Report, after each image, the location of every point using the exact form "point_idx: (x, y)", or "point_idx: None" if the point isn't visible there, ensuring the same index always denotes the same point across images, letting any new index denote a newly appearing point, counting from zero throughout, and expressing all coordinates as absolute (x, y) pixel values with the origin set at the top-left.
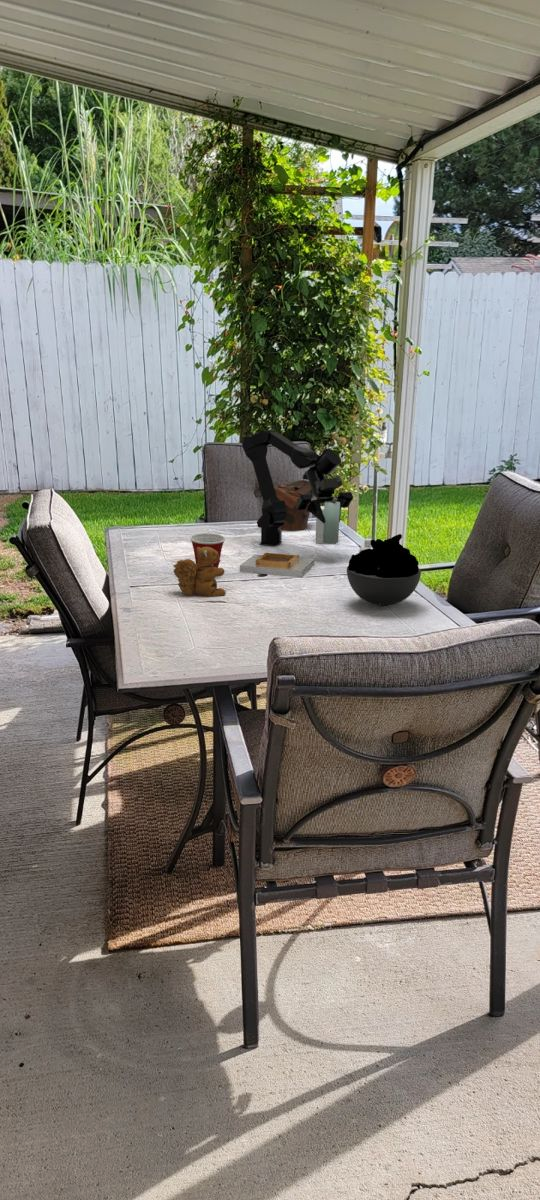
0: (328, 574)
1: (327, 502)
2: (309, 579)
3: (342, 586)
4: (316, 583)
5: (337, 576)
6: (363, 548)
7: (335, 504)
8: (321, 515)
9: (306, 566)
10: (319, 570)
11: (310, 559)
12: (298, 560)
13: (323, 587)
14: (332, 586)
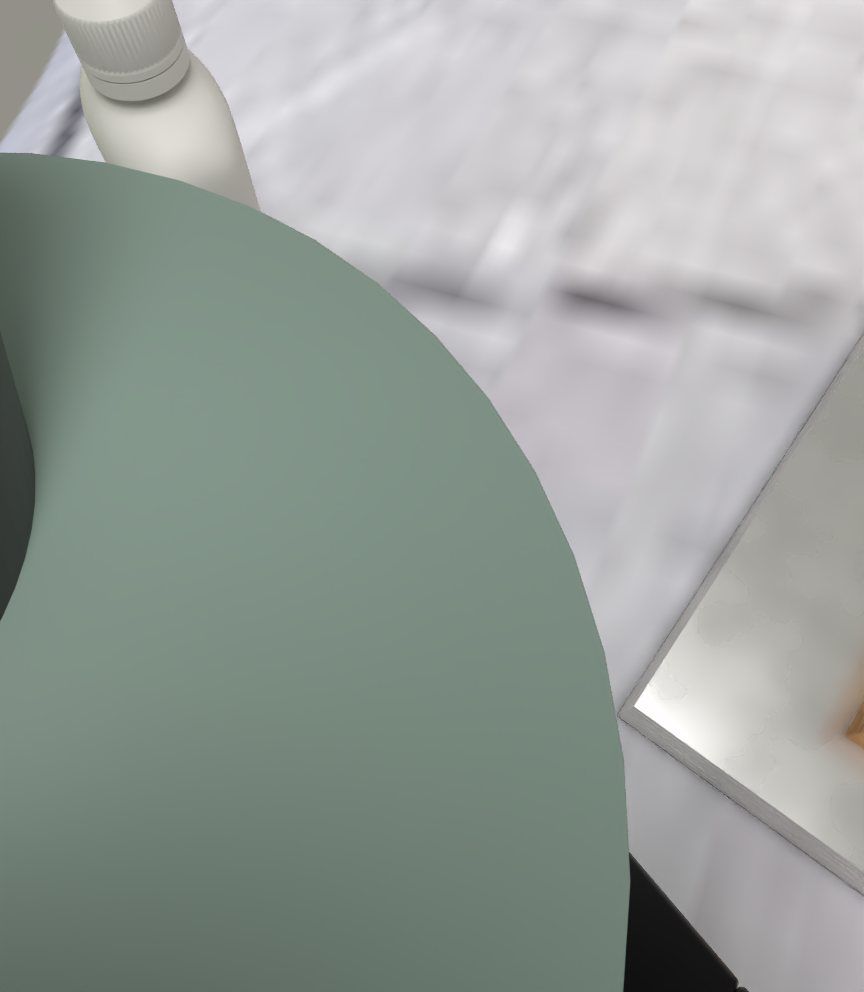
0: (598, 333)
1: (306, 888)
2: (821, 240)
3: (621, 29)
4: (793, 133)
5: (544, 257)
6: (217, 90)
7: (10, 187)
8: (632, 873)
9: (823, 411)
10: (631, 487)
11: (685, 706)
12: (855, 700)
13: (770, 41)
14: (694, 45)
